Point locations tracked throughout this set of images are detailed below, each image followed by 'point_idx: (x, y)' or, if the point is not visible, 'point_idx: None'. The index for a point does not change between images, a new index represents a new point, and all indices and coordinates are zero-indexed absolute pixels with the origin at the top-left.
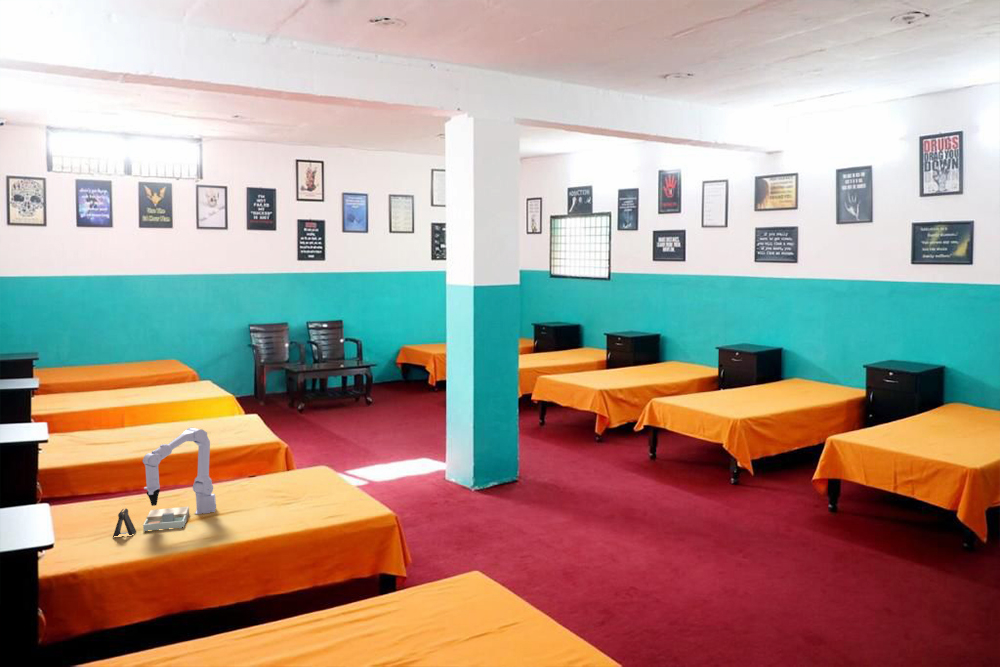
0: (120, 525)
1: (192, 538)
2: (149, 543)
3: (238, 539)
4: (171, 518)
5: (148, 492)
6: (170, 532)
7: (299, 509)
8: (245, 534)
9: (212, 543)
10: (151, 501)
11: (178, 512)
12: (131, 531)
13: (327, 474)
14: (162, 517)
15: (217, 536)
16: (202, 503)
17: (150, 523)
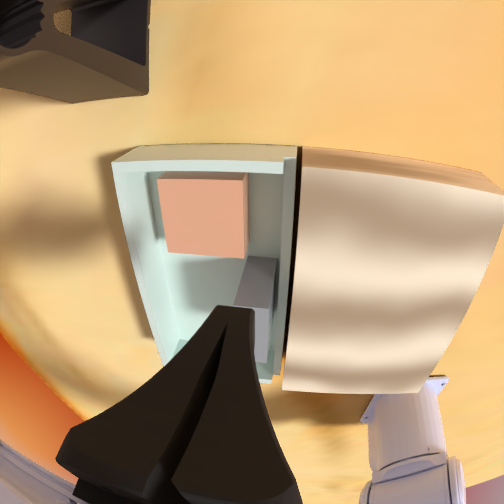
0: (61, 7)
1: (65, 343)
2: (4, 214)
3: (79, 406)
4: None
5: (81, 475)
6: (118, 289)
7: None
8: None
9: (45, 368)
10: (194, 351)
11: (327, 365)
12: (55, 98)
13: (471, 485)
14: (237, 291)
15: (90, 388)
16: (379, 438)
17: (199, 195)
